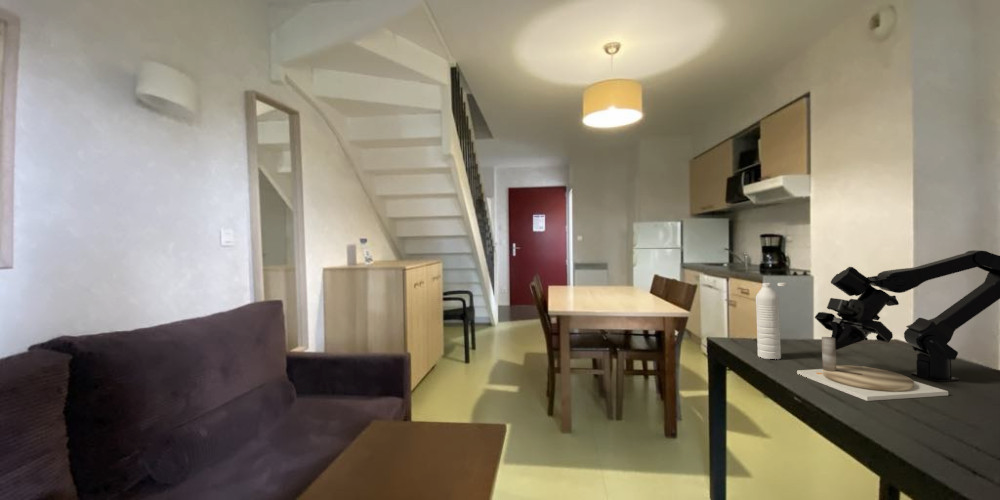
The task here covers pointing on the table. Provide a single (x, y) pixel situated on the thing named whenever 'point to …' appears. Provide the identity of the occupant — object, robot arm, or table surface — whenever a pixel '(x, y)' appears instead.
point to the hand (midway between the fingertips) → (832, 348)
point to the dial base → (872, 394)
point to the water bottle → (768, 322)
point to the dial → (860, 372)
